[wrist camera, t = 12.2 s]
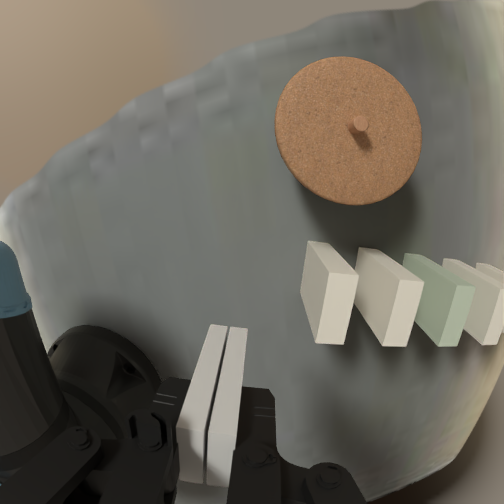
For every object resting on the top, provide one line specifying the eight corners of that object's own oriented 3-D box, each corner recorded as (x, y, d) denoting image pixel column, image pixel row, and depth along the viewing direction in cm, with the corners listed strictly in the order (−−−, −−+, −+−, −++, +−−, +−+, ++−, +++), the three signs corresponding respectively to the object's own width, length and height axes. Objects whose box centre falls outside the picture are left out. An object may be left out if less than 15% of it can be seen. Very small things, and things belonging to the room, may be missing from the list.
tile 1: (300, 291, 31) (315, 342, 21) (307, 240, 29) (329, 272, 20) (320, 293, 31) (343, 344, 21) (328, 243, 29) (359, 275, 20)
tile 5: (465, 304, 30) (516, 343, 21) (476, 262, 29) (533, 291, 20) (477, 305, 30) (527, 342, 21) (488, 264, 29) (544, 292, 19)
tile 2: (349, 296, 31) (382, 346, 21) (358, 246, 29) (399, 279, 20) (367, 298, 30) (405, 346, 21) (377, 249, 29) (424, 281, 20)
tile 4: (432, 302, 30) (482, 345, 21) (443, 258, 29) (500, 288, 20) (446, 303, 30) (496, 344, 21) (457, 259, 29) (514, 290, 20)
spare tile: (394, 300, 30) (438, 346, 21) (404, 252, 29) (456, 285, 20) (410, 301, 30) (456, 346, 21) (421, 254, 29) (475, 286, 20)
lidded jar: (393, 104, 26) (441, 80, 17) (372, 210, 29) (415, 226, 19) (285, 71, 26) (294, 29, 17) (260, 182, 28) (258, 185, 19)
